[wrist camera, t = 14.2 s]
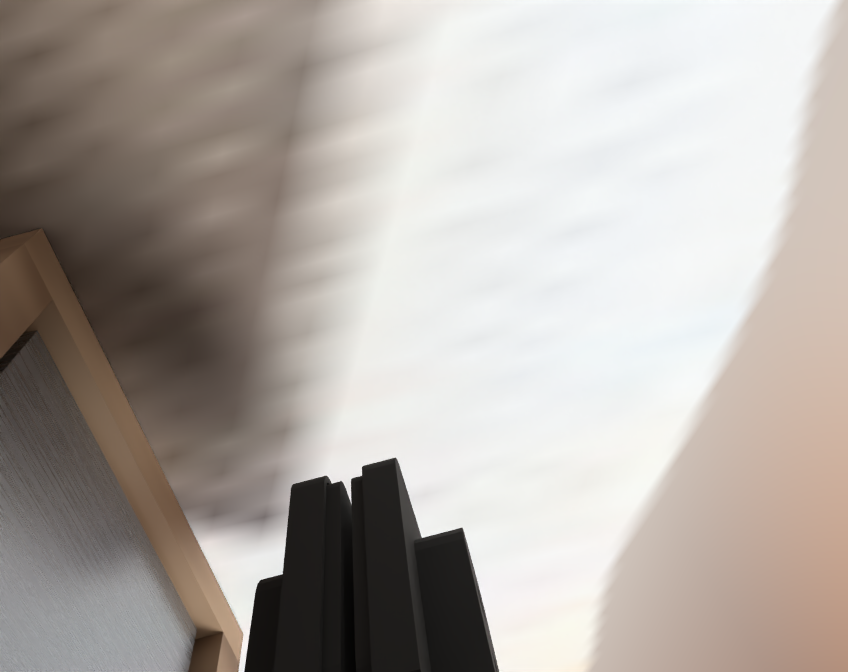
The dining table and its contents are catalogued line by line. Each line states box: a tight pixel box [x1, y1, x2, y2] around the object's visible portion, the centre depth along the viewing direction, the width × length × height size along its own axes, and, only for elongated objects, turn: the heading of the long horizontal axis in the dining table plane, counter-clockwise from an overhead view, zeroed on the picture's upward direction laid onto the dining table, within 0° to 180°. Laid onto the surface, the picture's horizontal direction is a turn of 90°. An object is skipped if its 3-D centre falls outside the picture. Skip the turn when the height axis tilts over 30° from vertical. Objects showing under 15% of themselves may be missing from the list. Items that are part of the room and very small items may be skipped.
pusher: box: [0, 331, 197, 672], centre depth 11 cm, size 7×1×6 cm, turn 13°
